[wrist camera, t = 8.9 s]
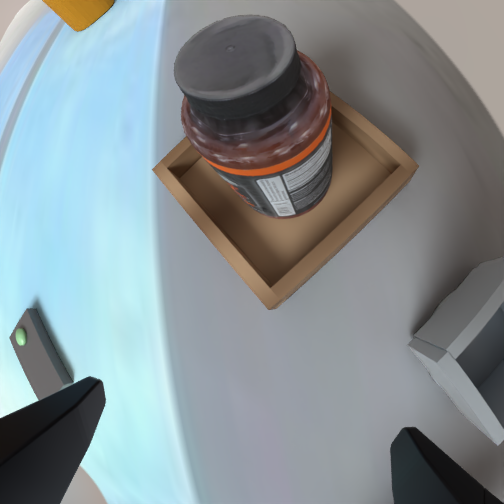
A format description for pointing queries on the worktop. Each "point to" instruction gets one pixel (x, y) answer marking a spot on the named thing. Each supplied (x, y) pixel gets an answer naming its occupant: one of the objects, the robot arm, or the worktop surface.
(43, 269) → the worktop surface
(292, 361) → the worktop surface
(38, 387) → the pad
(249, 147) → the supplement bottle
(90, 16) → the flashlight
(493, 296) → the grey open square bin
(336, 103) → the tray
